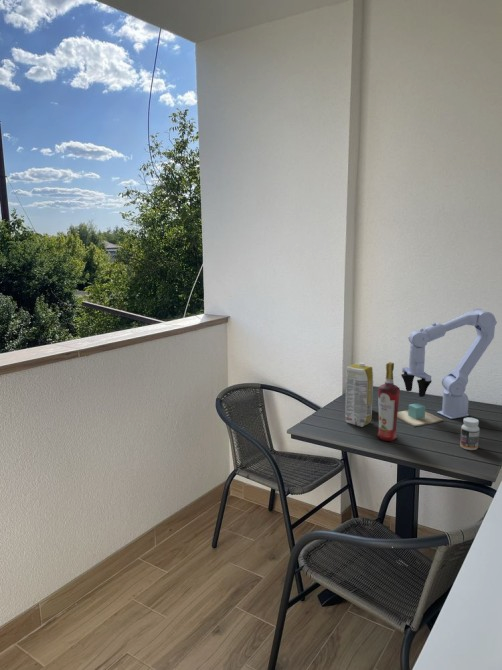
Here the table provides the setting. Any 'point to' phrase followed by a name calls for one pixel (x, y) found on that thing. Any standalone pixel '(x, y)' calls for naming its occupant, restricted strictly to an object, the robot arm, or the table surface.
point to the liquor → (388, 406)
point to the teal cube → (416, 411)
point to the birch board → (417, 422)
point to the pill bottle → (470, 434)
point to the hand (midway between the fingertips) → (415, 393)
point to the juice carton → (358, 394)
